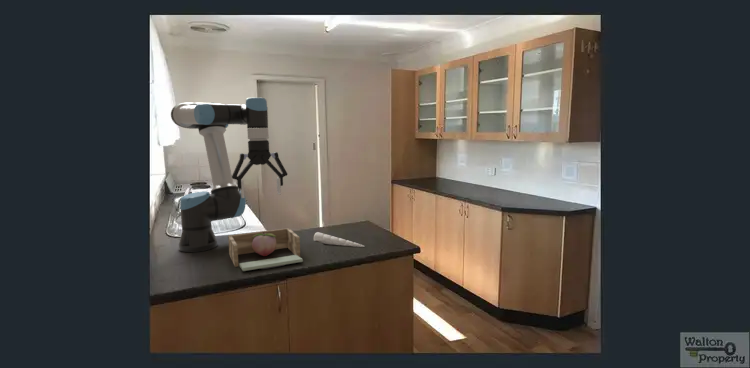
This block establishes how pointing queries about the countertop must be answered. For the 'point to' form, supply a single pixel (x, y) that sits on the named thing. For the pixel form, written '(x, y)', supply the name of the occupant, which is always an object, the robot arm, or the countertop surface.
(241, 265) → the pale green panel
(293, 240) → the box
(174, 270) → the countertop surface
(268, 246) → the decorative fruit
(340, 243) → the unicorn horn
